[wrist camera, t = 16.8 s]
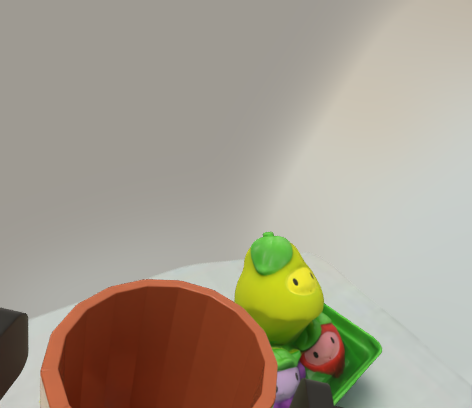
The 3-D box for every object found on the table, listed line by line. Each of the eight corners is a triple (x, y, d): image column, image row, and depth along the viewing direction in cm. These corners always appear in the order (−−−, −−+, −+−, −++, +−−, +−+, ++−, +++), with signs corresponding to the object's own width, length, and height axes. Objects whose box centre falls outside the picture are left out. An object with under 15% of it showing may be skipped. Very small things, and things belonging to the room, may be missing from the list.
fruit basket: (263, 517, 19) (336, 355, 14) (161, 392, 24) (190, 243, 19) (360, 397, 27) (425, 271, 22) (269, 323, 32) (307, 208, 27)
